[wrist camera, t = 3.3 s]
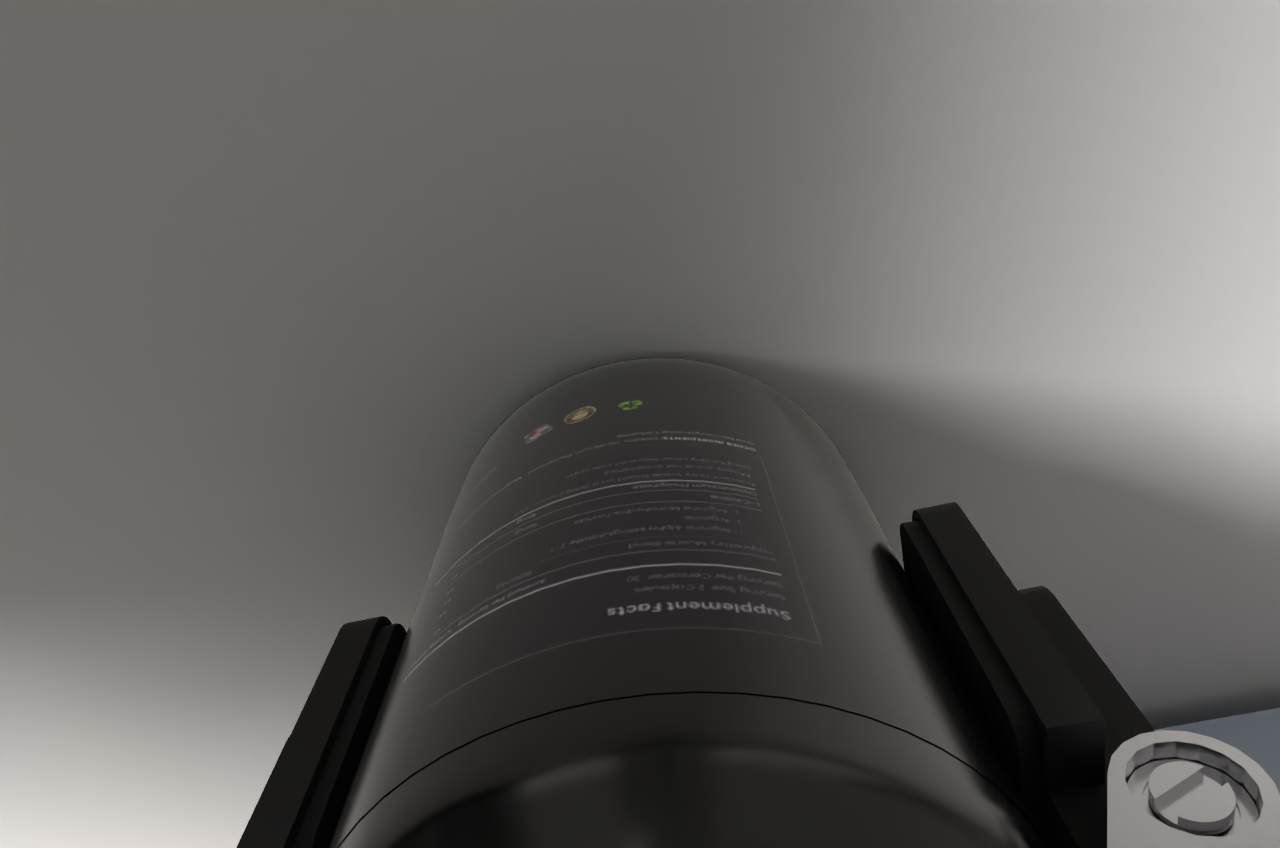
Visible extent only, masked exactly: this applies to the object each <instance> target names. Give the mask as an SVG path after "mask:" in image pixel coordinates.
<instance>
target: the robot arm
mask: <svg viewBox="0 0 1280 848" xmlns="http://www.w3.org/2000/svg"><path fill="white" fill-rule="evenodd" d="M900 536H901V544H902V553H903V562H904V570H905V574H906V575H907V577H908V579H909V581H910V583H911V585H912V587H913V589H914V591H915V593H916V594H917V596H918V598H919V600H920V602H921V604H922V606H923V608H924V610H925V612H926V614H927V615H928V617H929V619H930V621H931V623H932V625H933V627H934V629H935V631H936V633H937V634H938V636H939V638H940V640H941V642H942V644H943V646H944V648H945V650H946V652H947V654H948V655H949V657H950V659H951V661H952V663H953V665H954V667H955V669H956V671H957V673H958V674H959V676H960V678H961V680H962V682H963V684H964V686H965V688H966V690H967V692H968V694H969V695H970V697H971V699H972V701H973V703H974V705H975V707H976V709H977V711H978V713H979V715H980V716H981V718H982V720H983V722H984V724H985V726H986V728H987V730H988V732H989V734H990V735H991V737H992V739H993V741H994V743H995V745H996V747H997V749H998V751H999V753H1000V755H1001V756H1002V758H1003V760H1004V762H1005V764H1006V766H1007V768H1008V770H1009V772H1010V774H1011V775H1012V777H1013V779H1014V781H1015V783H1016V785H1017V787H1018V789H1019V791H1020V793H1021V795H1022V797H1023V798H1024V800H1025V802H1026V804H1027V806H1028V808H1029V810H1030V812H1031V814H1032V816H1033V818H1034V819H1035V821H1036V823H1037V825H1038V827H1039V829H1040V831H1041V833H1042V835H1043V837H1044V839H1045V841H1046V842H1047V844H1048V846H1049V848H1280V794H1279V792H1278V789H1277V787H1276V785H1275V782H1274V781H1273V780H1272V779H1271V778H1270V776H1269V775H1268V774H1267V773H1266V772H1265V771H1264V770H1263V768H1262V767H1261V766H1260V765H1259V764H1258V763H1257V762H1255V761H1254V760H1252V759H1251V758H1250V757H1248V756H1247V755H1245V754H1244V753H1243V752H1241V751H1240V750H1238V749H1237V748H1235V747H1232V746H1230V745H1228V744H1226V743H1223V742H1221V741H1219V740H1217V739H1215V738H1212V737H1208V736H1204V735H1200V734H1196V733H1192V732H1188V731H1171V730H1159V731H1155V730H1154V729H1153V728H1152V726H1151V725H1150V724H1149V722H1148V721H1147V720H1146V718H1145V717H1144V716H1143V714H1142V713H1141V712H1140V710H1139V709H1138V708H1137V706H1136V705H1135V704H1134V702H1133V701H1132V700H1131V698H1130V697H1129V696H1128V694H1127V693H1126V692H1125V690H1124V689H1123V688H1122V686H1121V685H1120V683H1119V682H1118V681H1117V679H1116V678H1115V677H1114V675H1113V674H1112V673H1111V671H1110V670H1109V669H1108V667H1107V666H1106V665H1105V663H1104V662H1103V661H1102V659H1101V658H1100V657H1099V655H1098V654H1097V653H1096V651H1095V650H1094V649H1093V647H1092V646H1091V645H1090V643H1089V642H1088V641H1087V639H1086V638H1085V636H1084V635H1083V634H1082V632H1081V631H1080V630H1079V628H1078V627H1077V626H1076V624H1075V623H1074V622H1073V620H1072V619H1071V618H1070V616H1069V615H1068V614H1067V612H1066V611H1065V610H1064V608H1063V607H1062V606H1061V604H1060V603H1059V602H1058V600H1057V599H1056V598H1055V596H1054V595H1053V594H1052V593H1051V592H1050V591H1049V590H1048V589H1047V588H1045V587H1043V586H1039V587H1034V588H1028V589H1023V590H1018V591H1017V589H1016V588H1015V587H1014V585H1013V584H1012V582H1011V581H1010V579H1009V578H1008V576H1007V575H1006V573H1005V572H1004V571H1003V569H1002V568H1001V566H1000V565H999V563H998V562H997V560H996V559H995V557H994V556H993V555H992V553H991V552H990V550H989V549H988V547H987V546H986V544H985V543H984V541H983V540H982V539H981V537H980V536H979V534H978V533H977V531H976V530H975V528H974V527H973V525H972V524H971V523H970V521H969V520H968V518H967V517H966V515H965V514H964V512H963V511H962V509H961V508H960V507H959V505H958V504H957V503H954V502H953V503H948V504H943V505H938V506H933V507H928V508H923V509H918V510H914V511H913V515H912V522H907V523H902V524H901V525H900ZM406 634H407V633H406V631H405V629H404V627H403V626H402V625H401V624H393V625H392V623H391V622H390V620H389V619H388V618H387V617H384V616H381V617H376V618H371V619H366V620H361V621H356V622H351V623H347V624H344V625H343V626H342V628H341V629H340V631H339V633H338V635H337V637H336V639H335V641H334V644H333V646H332V648H331V650H330V652H329V654H328V656H327V659H326V661H325V663H324V665H323V667H322V669H321V671H320V674H319V676H318V678H317V680H316V682H315V684H314V686H313V688H312V691H311V693H310V695H309V697H308V699H307V701H306V703H305V706H304V708H303V710H302V712H301V714H300V716H299V718H298V721H297V723H296V725H295V727H294V729H293V731H292V733H291V735H290V737H289V738H288V740H287V741H286V743H285V746H284V748H283V750H282V752H281V754H280V756H279V758H278V760H277V763H276V765H275V767H274V769H273V771H272V773H271V775H270V778H269V780H268V782H267V784H266V786H265V788H264V790H263V792H262V795H261V797H260V799H259V801H258V803H257V805H256V807H255V810H254V812H253V814H252V816H251V818H250V820H249V822H248V824H247V827H246V829H245V831H244V833H243V835H242V837H241V839H240V841H239V844H238V846H237V848H329V846H330V844H331V841H332V838H333V835H334V833H335V830H336V827H337V824H338V822H339V819H340V816H341V813H342V810H343V808H344V805H345V802H346V799H347V797H348V794H349V791H350V788H351V786H352V783H353V780H354V777H355V775H356V772H357V769H358V766H359V764H360V761H361V758H362V755H363V753H364V750H365V747H366V744H367V742H368V739H369V736H370V733H371V731H372V728H373V725H374V722H375V720H376V717H377V714H378V711H379V709H380V706H381V703H382V700H383V698H384V695H385V692H386V689H387V687H388V684H389V681H390V678H391V676H392V673H393V670H394V667H395V665H396V662H397V659H398V656H399V654H400V651H401V648H402V645H403V643H404V640H405V637H406Z"/></svg>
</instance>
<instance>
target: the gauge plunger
mask: <svg viewBox="0 0 1280 848" xmlns="http://www.w3.org/2000/svg"><path fill="white" fill-rule="evenodd" d="M1159 730H1171V731H1188V732H1192V733H1196V734H1200V735H1204V736H1208V737H1212V738H1215V739H1217V740H1219V741H1221V742H1223V743H1226V744H1228V745H1230V746H1232V747H1235V748H1237V749H1238V750H1240V751H1241V752H1243V753H1244V754H1245V755H1247V756H1248V757H1250V758H1251V759H1252V760H1254V761H1255V762H1257V763H1258V764H1259V765H1260V766H1261V767H1262V768H1263V770H1264V771H1265V772H1266V773H1267V774H1268V775H1269V776H1270V778H1271V779H1272V780H1273V781H1274V782H1275V785H1276V787H1277V789H1278V792H1279V794H1280V708H1274V709H1269V710H1263V711H1257V712H1252V713H1246V714H1240V715H1234V716H1229V717H1223V718H1217V719H1212V720H1206V721H1200V722H1194V723H1189V724H1183V725H1177V726H1172V727H1166V728H1160V729H1155V731H1159Z"/></svg>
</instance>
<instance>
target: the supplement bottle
mask: <svg viewBox="0 0 1280 848" xmlns="http://www.w3.org/2000/svg"><path fill="white" fill-rule="evenodd" d="M329 848H1049V846H1048V844H1047V842H1046V841H1045V839H1044V837H1043V835H1042V833H1041V831H1040V829H1039V827H1038V825H1037V823H1036V821H1035V819H1034V818H1033V816H1032V814H1031V812H1030V810H1029V808H1028V806H1027V804H1026V802H1025V800H1024V798H1023V797H1022V795H1021V793H1020V791H1019V789H1018V787H1017V785H1016V783H1015V781H1014V779H1013V777H1012V775H1011V774H1010V772H1009V770H1008V768H1007V766H1006V764H1005V762H1004V760H1003V758H1002V756H1001V755H1000V753H999V751H998V749H997V747H996V745H995V743H994V741H993V739H992V737H991V735H990V734H989V732H988V730H987V728H986V726H985V724H984V722H983V720H982V718H981V716H980V715H979V713H978V711H977V709H976V707H975V705H974V703H973V701H972V699H971V697H970V695H969V694H968V692H967V690H966V688H965V686H964V684H963V682H962V680H961V678H960V676H959V674H958V673H957V671H956V669H955V667H954V665H953V663H952V661H951V659H950V657H949V655H948V654H947V652H946V650H945V648H944V646H943V644H942V642H941V640H940V638H939V636H938V634H937V633H936V631H935V629H934V627H933V625H932V623H931V621H930V619H929V617H928V615H927V614H926V612H925V610H924V608H923V606H922V604H921V602H920V600H919V598H918V596H917V594H916V593H915V591H914V589H913V587H912V585H911V583H910V581H909V579H908V577H907V575H906V574H905V572H904V570H903V568H902V566H901V564H900V562H899V560H898V558H897V556H896V554H895V553H894V551H893V549H892V547H891V545H890V543H889V541H888V539H887V537H886V535H885V534H884V532H883V530H882V528H881V526H880V524H879V522H878V520H877V518H876V516H875V514H874V513H873V511H872V509H871V507H870V505H869V503H868V501H867V499H866V497H865V495H864V494H863V492H862V490H861V488H860V486H859V485H858V483H857V481H856V479H855V478H854V476H853V475H852V473H851V471H850V469H849V467H848V466H847V464H846V462H845V460H844V459H843V457H842V455H841V453H840V452H839V450H838V449H837V448H836V446H835V445H834V443H833V442H832V441H831V439H830V438H829V437H828V435H827V434H826V433H825V431H824V430H823V429H822V428H821V427H820V426H819V425H818V424H817V423H816V421H815V420H814V419H813V418H812V417H811V416H810V415H809V414H808V413H806V412H805V411H804V410H803V409H802V408H801V407H800V406H798V405H797V404H796V403H795V402H793V401H792V400H791V399H789V398H788V397H786V396H785V395H783V394H782V393H781V392H779V391H777V390H776V389H774V388H772V387H770V386H768V385H767V384H765V383H763V382H761V381H759V380H757V379H754V378H752V377H750V376H748V375H745V374H743V373H741V372H738V371H735V370H732V369H728V368H725V367H722V366H719V365H714V364H710V363H705V362H701V361H693V360H686V359H674V358H649V359H635V360H628V361H621V362H615V363H611V364H607V365H603V366H599V367H595V368H592V369H589V370H587V371H584V372H581V373H578V374H575V375H573V376H571V377H569V378H566V379H564V380H562V381H560V382H558V383H556V384H554V385H552V386H551V387H549V388H547V389H546V390H544V391H542V392H540V393H539V394H537V395H536V396H534V397H533V398H531V399H530V400H529V401H527V402H526V403H525V404H523V405H522V406H520V407H519V408H518V409H517V410H516V411H515V412H514V413H513V414H511V415H510V416H509V417H508V418H507V419H506V420H505V421H504V422H503V423H502V424H501V425H500V426H499V427H498V428H497V430H496V431H495V432H494V433H493V434H492V435H491V437H490V438H489V439H488V441H487V442H486V443H485V445H484V446H483V448H482V449H481V450H480V452H479V454H478V456H477V457H476V459H475V461H474V463H473V464H472V466H471V468H470V470H469V471H468V473H467V475H466V478H465V480H464V482H463V485H462V487H461V489H460V492H459V494H458V497H457V499H456V502H455V504H454V507H453V509H452V511H451V514H450V516H449V519H448V522H447V524H446V527H445V530H444V533H443V535H442V538H441V541H440V544H439V546H438V549H437V552H436V555H435V557H434V560H433V563H432V566H431V568H430V571H429V574H428V577H427V579H426V582H425V585H424V588H423V590H422V593H421V596H420V599H419V601H418V604H417V607H416V610H415V612H414V615H413V618H412V621H411V623H410V626H409V629H408V632H407V634H406V637H405V640H404V643H403V645H402V648H401V651H400V654H399V656H398V659H397V662H396V665H395V667H394V670H393V673H392V676H391V678H390V681H389V684H388V687H387V689H386V692H385V695H384V698H383V700H382V703H381V706H380V709H379V711H378V714H377V717H376V720H375V722H374V725H373V728H372V731H371V733H370V736H369V739H368V742H367V744H366V747H365V750H364V753H363V755H362V758H361V761H360V764H359V766H358V769H357V772H356V775H355V777H354V780H353V783H352V786H351V788H350V791H349V794H348V797H347V799H346V802H345V805H344V808H343V810H342V813H341V816H340V819H339V822H338V824H337V827H336V830H335V833H334V835H333V838H332V841H331V844H330V846H329Z"/></svg>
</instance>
